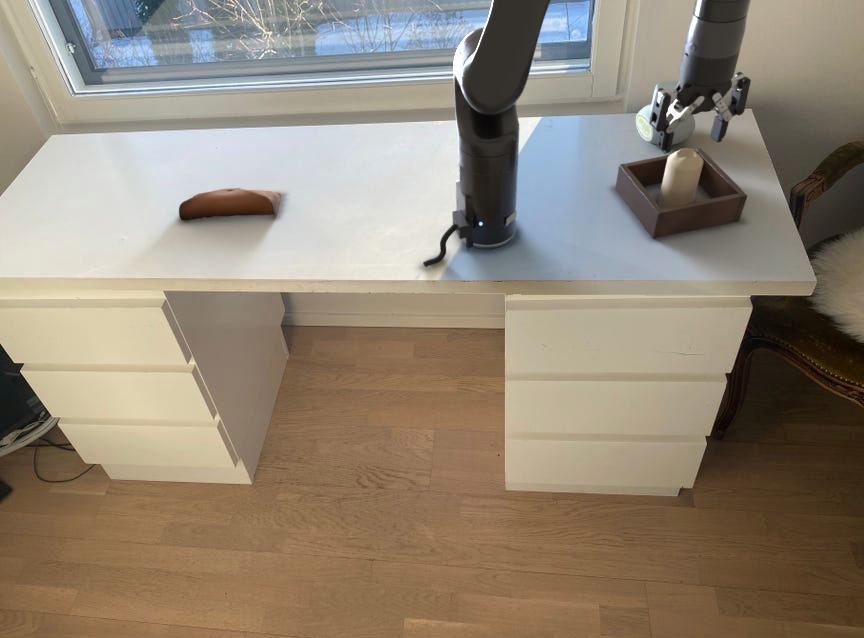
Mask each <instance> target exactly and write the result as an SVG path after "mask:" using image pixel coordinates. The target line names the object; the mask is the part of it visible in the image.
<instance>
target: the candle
mask: <svg viewBox="0 0 864 638" xmlns="http://www.w3.org/2000/svg"><path fill="white" fill-rule="evenodd" d="M694 150H695V149H693V148H691V147H684V148H683V147H682V148H680V149H679V150H677V151H674V152H673V153H671V154H669V155H670V156H669V157H668V159H667V164H666V168H665V173H664V177H663V182H662V183H661V187H660V191H659V196H658V205H659V206H660V208H661V209H664V208H669V207H674V206H678V205H683V204H688V203H693V202H695V196H696V194H697V193H696V192H697V189H698V185H699V184H698V181H699V177H700V174H701V170H702V166H703V159H702V158H701V157H700V156H699V155H698V154H697V153H696V152H695V151H694Z"/></svg>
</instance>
